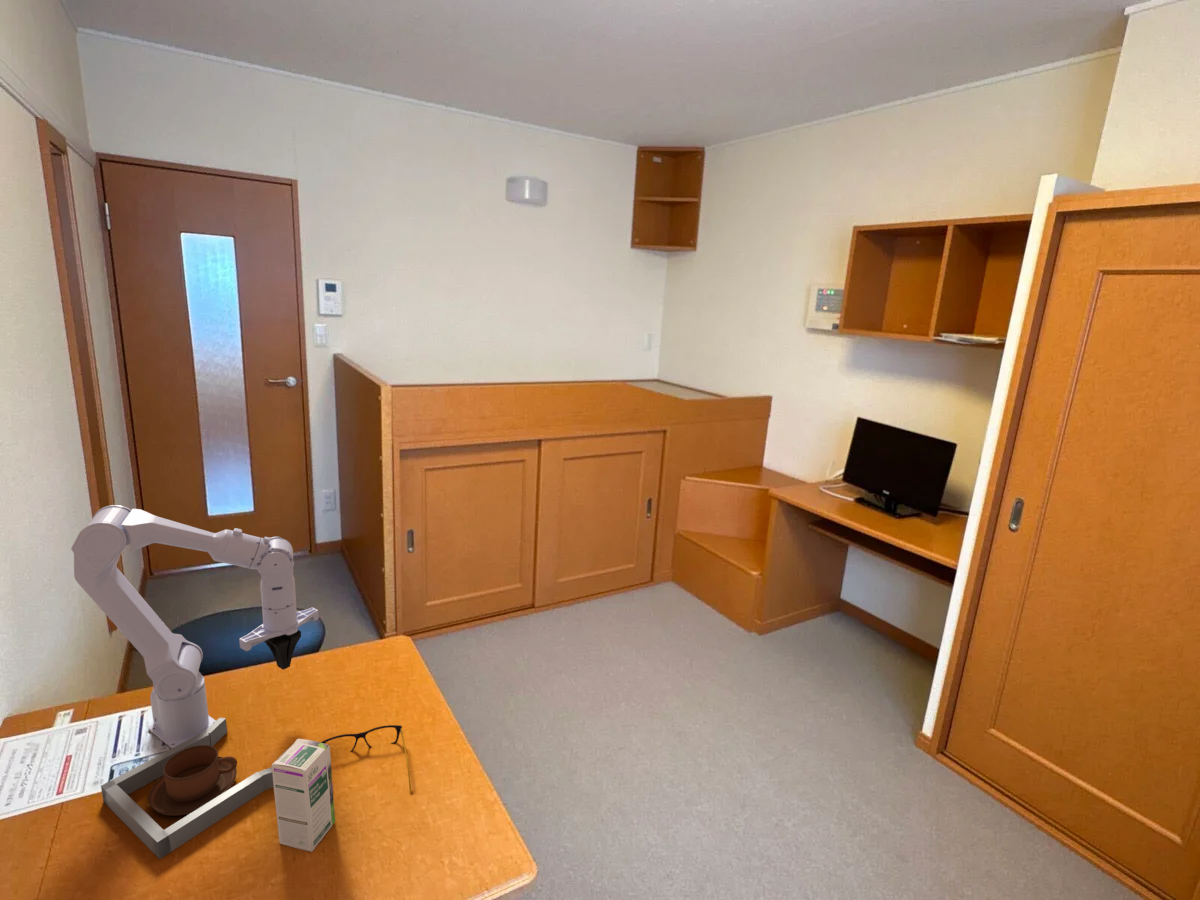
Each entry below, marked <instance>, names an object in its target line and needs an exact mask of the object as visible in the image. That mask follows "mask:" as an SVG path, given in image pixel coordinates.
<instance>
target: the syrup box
mask: <svg viewBox="0 0 1200 900" xmlns="http://www.w3.org/2000/svg"><path fill="white" fill-rule="evenodd" d="M271 767H272V775H273V785H274V787H273V794H274V803H275V812H276V813H275V814H276V820H277V821H276V822H277V824H276V825H277V833H278V841H279V844H281V845H284V846H287V847H289V848H290V847H291V848H295V849H297V850H302V851H306V852H311V853H312V852H314V850H315V848H316V847H317V846H318V845H319V843H320V842H321V841H322V840H323V838H324V837H325V836H326V834H327V833H328V832H329V831H330V830H331V828H332V827H333V825H334V824H335V823H336V812H335V801H334V785H333V772H332V757H331V746H330V745H329V744H327V743H325V744H324V743H320V741H315V740H311V739H302V738H297V739H296V740H295V741H294V742H293V744H292V745H290V746H289V747H288V748H287V749H286V750H285V751H283V752H282V754H281V755H280V756H279V757H278V758H277V759H276V760H275V761H274V762H273V763H272V764H271Z"/></svg>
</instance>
